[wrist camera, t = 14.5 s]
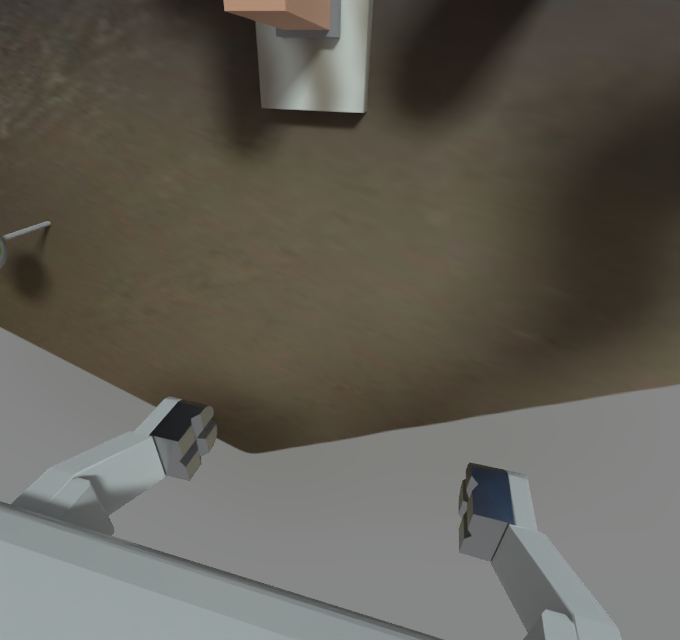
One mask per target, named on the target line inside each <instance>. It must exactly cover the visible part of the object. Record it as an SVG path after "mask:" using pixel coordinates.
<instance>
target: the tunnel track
mask: <svg viewBox="0 0 680 640" xmlns="http://www.w3.org/2000/svg"><path fill="white" fill-rule="evenodd" d="M372 11H373V0H341V33H340V38H280V37H276V27H273V26H270V25H266V24H263V23H260V22H257V21H255V24H256V38H257V52H258V66H259V80H260V94H261V108H270V109H291V110H312V111H333V112H353V113H365V112H367V99H368V82H369V64H370V47H371V29H372Z"/></svg>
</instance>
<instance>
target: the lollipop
mask: <svg viewBox="0 0 680 640" xmlns="http://www.w3.org/2000/svg"><path fill="white" fill-rule="evenodd" d="M49 225H51V223H50V221H46V222H43V223H40V224H37V225H34V226H31V227H28V228H25V229H22V230H19V231H16V232H13V233H10V234H7V235H4V236H0V268H1V267H2V266H3V265H4V264H5V262H6V259H7V255H8V250H7V245H6V243H5V241H6V240H9V239H12V238H15V237H17V236H20V235H23V234H26V233H29V232H32V231H35V230H38V229H41V228H43V227H46V226H49Z"/></svg>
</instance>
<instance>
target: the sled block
mask: <svg viewBox="0 0 680 640" xmlns="http://www.w3.org/2000/svg"><path fill="white" fill-rule="evenodd" d="M224 10H225V11H226V12H229V13H232V14H235V15H239V16H242V17H245V18H248V19H251V20H254V21H257V22H260V23H263V24H266V25H270V26H273V27H276V37H280V38H340V33H341V0H224Z"/></svg>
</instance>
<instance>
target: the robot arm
mask: <svg viewBox="0 0 680 640" xmlns="http://www.w3.org/2000/svg"><path fill="white" fill-rule="evenodd" d="M213 415H214V412H213V408H212V407H211V406H207V405H203V404H199V403H195V402H191V401H187V400H183V399H179V398H175V397H170V396H169V397H167V398H165V399H164V400H163V401H162V402H161V403H160V404H159V405H158V406H157V407H156V408H155V409H154V410H153V412H152V413H151V414H150V415H149V416H148V417H147V418H146V419H145V420H144V421H143V422H142V423H141V424H140V426H138V428H137V429H136V430H135V431H134V432H132V431H128V432H126V433H124V434H122V435H120V436H118V437H115V438H113V439H111V440H109V441H107V442H105V443H103V444H100V445H98V446H96V447H94V448H92V449H89V450H87V451H85V452H83V453H81V454H79V455H76V456H74V457H72V458H70V459H68V460H65V461H64V462H61V463H59V464H57V465H55V466H52V467H50V468H49V469H48V470H47V471H46V472H45V473H44V474H43V475H41V477H39V479H37V480H36V481H35V482H34V483H33V484H32V485H31V486H30V487H29V488H28V489H27V490H25V492H23V493H22V494H21V495H20V496H19V497H18V498H17V499H16V500H15V501H14V502H13V503H12V504H11V505H10V504H7V503H4V502H1V501H0V640H443V639H440V638H437V637H434V636H431V635H427V634H424V633H421V632H418V631H415V630H411V629H408V628H405V627H402V626H399V625H395V624H392V623H389V622H386V621H383V620H379V619H376V618H373V617H370V616H367V615H363V614H360V613H357V612H354V611H351V610H347V609H344V608H341V607H338V606H334V605H331V604H328V603H325V602H322V601H318V600H315V599H312V598H309V597H305V596H302V595H299V594H296V593H293V592H290V591H286V590H283V589H280V588H277V587H274V586H270V585H267V584H264V583H261V582H257V581H254V580H251V579H247V578H245V577H242V576H238V575H235V574H232V573H229V572H225V571H222V570H219V569H216V568H213V567H209V566H206V565H203V564H200V563H196V562H193V561H190V560H187V559H184V558H180V557H177V556H174V555H171V554H167V553H164V552H161V551H158V550H155V549H152V548H148V547H145V546H142V545H139V544H136V543H132V542H129V541H126V540H122V539H119V538H116V537H113V536H112V535H113V533H114V527H113V525H112V523H111V521H110V519H109V517H108V516H109V515H110V514H112V513H113V512H114V511H116V510H118V509H119V508H121V507H122V506H123V505H125V504H126V503H128V502H129V501H131V500H132V499H133V498H135V497H136V496H138V495H139V494H141V493H143V492H144V491H145V490H147V489H148V488H150V487H151V486H153V485H154V484H156V483H157V482H159V481H160V480H161V479H163V478H164V477H165V475H167V476H172V477H176V478H180V479H184V480H189V481H190V479H191V478H192V477H193V475H194V474H195V472H196V471H197V469H198V468H199V466H200V465H201V456H203V455H205V454H207V453H208V452H209V451H210V450H211V448H212V447H213V445H214V442H215V439H216V437H217V426H216V423H215V422H214V421H213V420H212V419H211V418H212V417H213ZM459 515H460V516H461V518H462V521H461V524H460V527H459V552H460V553H463V554H467V555H470V556H473V557H477V558H480V559H484V560H487V561H490V562H491V564H492V566H493V568H494V570H495V572H496V574H497V576H498V578H499V580H500V581H501V583H502V585H503V587H504V589H505V591H506V593H507V595H508V596H509V598H510V600H511V602H512V604H513V606H514V608H515V609H516V612H517V613H518V615H519V617H520V619H521V621H522V623H523V625H524V627H525V628H526V630H527V632H528V634H527V636H526V637H525V638H524V640H621V636H620V633H619V630H618V628H617V626H616V625H615V624H614V622H613V621H612V620H611V619H610V617H609V616H608V615H607V613H606V612H605V611H604V610H603V608H602V607H601V606H600V604H599V603H598V602H597V601H596V599H595V598H594V597H593V595H592V594H591V593H590V592H589V591H588V589H587V588H586V587H585V585H584V584H583V583H582V581H581V580H580V579H579V578H578V576H577V575H576V574H575V573H574V571H573V570H572V568H571V567H570V566H569V565H568V563H567V562H566V561H565V560H564V558H563V557H562V556H561V554H560V553H559V552H558V551H557V549H556V548H555V547H554V545H553V544H552V543H551V542H550V540H549V539H548V538H547V536H546V535H545V534H544V533H543V532H540V531H537V526H536V520H535V515H534V510H533V504H532V499H531V494H530V489H529V483H528V479H527V477H526V475H524V474H520V473H515V472H510V471H505V470H503V469H498V468H493V467H488V466H483V465H479V464H473V463H469V464H468V466H467V469H466V479H465V480H463V482H462V485H461V490H460V496H459Z"/></svg>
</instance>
